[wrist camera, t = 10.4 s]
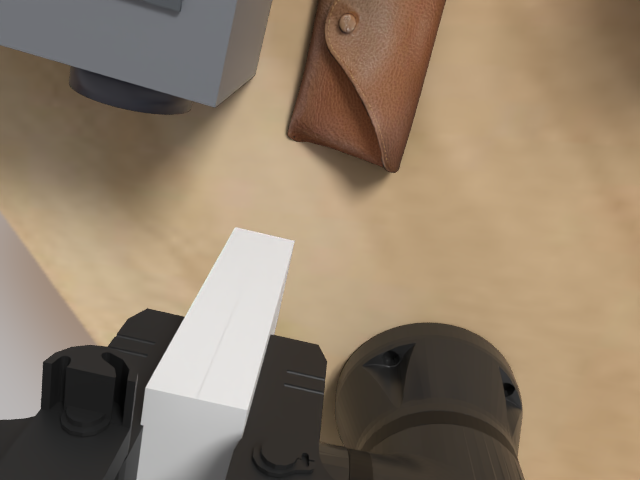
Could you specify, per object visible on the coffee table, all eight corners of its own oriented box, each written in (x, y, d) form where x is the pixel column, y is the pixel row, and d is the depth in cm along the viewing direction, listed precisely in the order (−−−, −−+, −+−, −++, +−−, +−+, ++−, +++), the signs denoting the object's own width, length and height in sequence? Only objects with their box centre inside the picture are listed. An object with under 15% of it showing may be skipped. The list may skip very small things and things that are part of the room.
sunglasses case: (332, -145, 36) (392, -154, 30) (425, -115, 39) (494, -118, 34) (283, 144, 43) (324, 178, 38) (365, 149, 46) (414, 180, 41)
